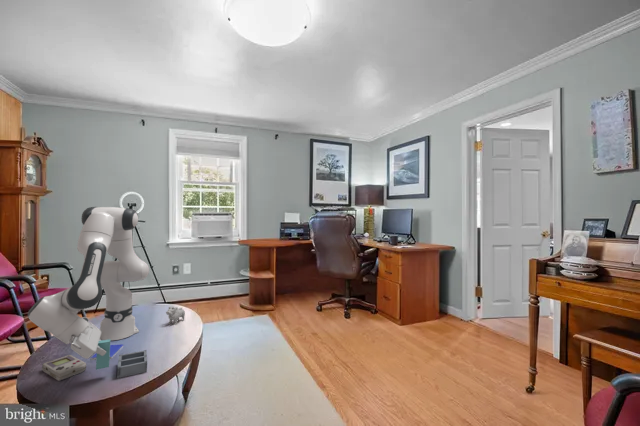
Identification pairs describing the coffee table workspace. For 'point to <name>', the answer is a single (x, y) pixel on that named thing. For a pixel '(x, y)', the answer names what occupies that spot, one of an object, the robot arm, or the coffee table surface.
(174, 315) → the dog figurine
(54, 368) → the handheld gaming console
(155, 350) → the coffee table surface
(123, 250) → the robot arm
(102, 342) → the teal block
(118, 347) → the hard drive
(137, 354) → the box
